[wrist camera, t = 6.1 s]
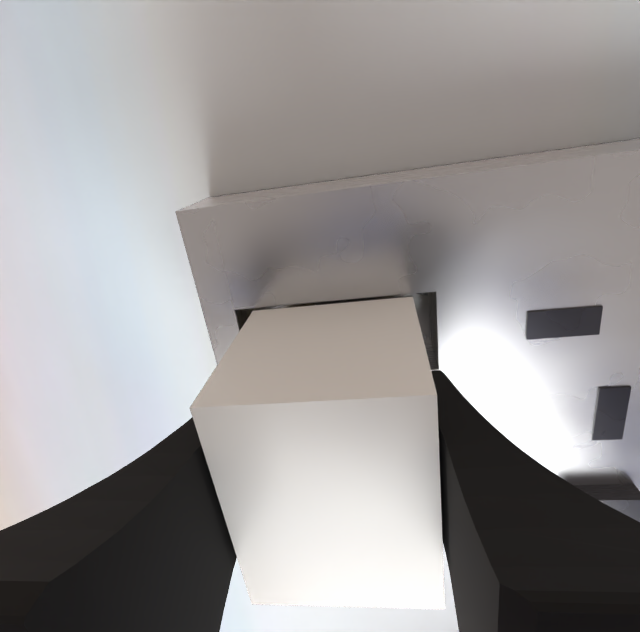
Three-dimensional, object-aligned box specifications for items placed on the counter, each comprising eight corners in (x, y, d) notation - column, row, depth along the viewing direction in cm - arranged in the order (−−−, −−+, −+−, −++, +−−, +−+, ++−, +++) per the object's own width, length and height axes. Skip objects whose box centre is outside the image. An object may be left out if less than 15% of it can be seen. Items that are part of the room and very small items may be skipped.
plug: (407, 275, 13) (437, 394, 7) (416, 424, 15) (444, 609, 9) (267, 288, 13) (189, 407, 8) (295, 429, 16) (251, 604, 10)
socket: (753, 122, 11) (887, 120, 8) (668, 475, 16) (734, 552, 13) (209, 197, 13) (165, 215, 10) (277, 483, 18) (259, 549, 15)
